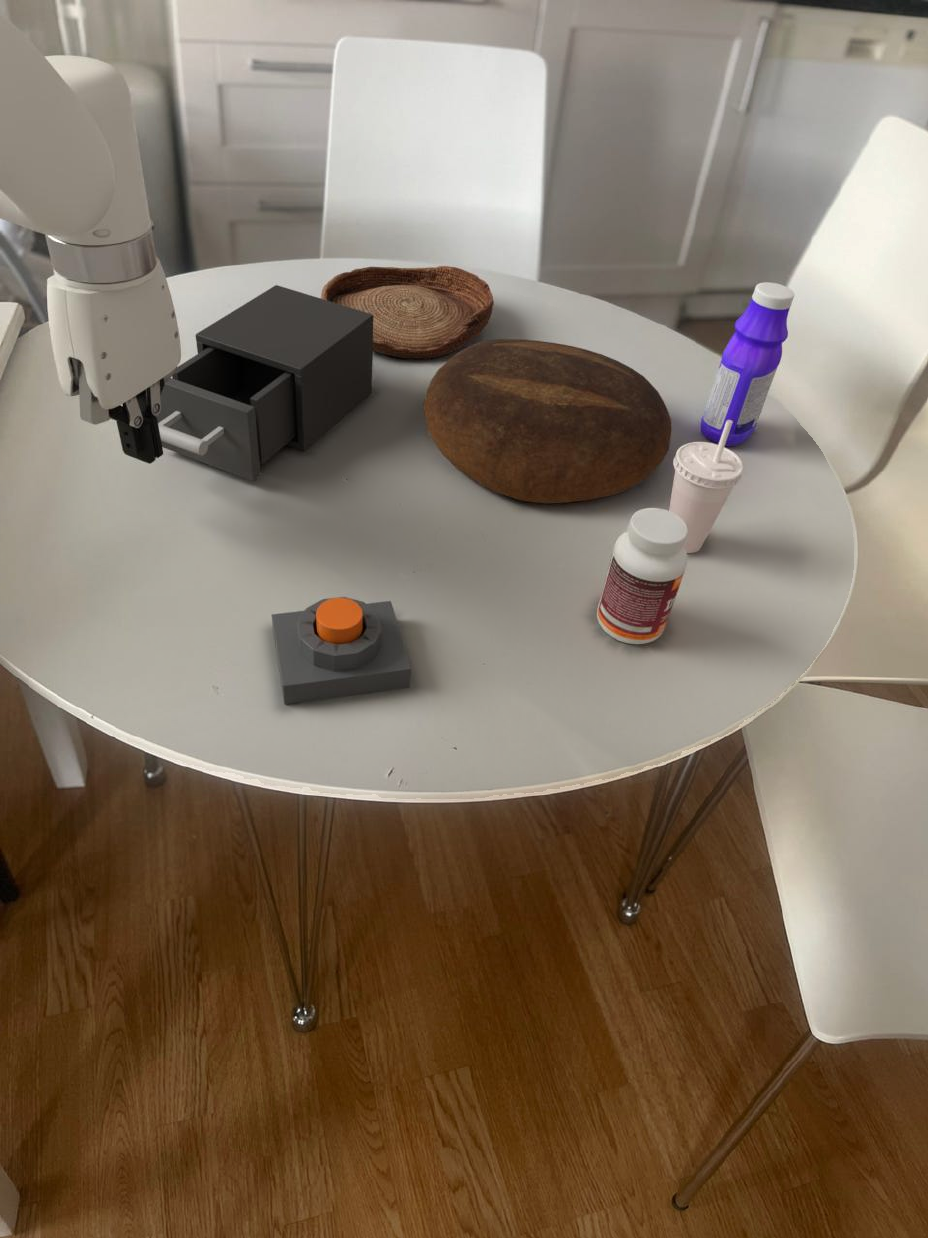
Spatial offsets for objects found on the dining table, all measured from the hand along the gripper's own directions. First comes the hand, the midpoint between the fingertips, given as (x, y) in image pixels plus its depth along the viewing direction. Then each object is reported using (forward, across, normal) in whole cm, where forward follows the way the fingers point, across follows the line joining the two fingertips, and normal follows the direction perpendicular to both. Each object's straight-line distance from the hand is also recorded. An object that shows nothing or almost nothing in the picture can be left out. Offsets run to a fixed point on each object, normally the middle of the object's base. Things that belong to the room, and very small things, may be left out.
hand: (143, 454), depth 80 cm
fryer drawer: (+6, -13, 0) cm, 14 cm away
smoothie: (+7, -23, +46) cm, 52 cm away
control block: (+6, +8, +25) cm, 27 cm away
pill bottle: (+7, -9, +45) cm, 46 cm away
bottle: (+7, -46, +45) cm, 65 cm away
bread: (+7, -33, +27) cm, 43 cm away
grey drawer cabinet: (+7, -24, 0) cm, 24 cm away
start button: (+3, +8, +25) cm, 26 cm away
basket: (+7, -48, +1) cm, 49 cm away
